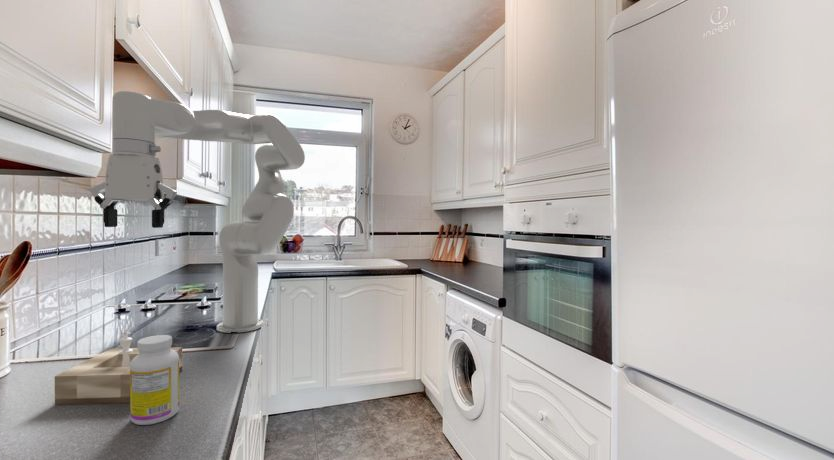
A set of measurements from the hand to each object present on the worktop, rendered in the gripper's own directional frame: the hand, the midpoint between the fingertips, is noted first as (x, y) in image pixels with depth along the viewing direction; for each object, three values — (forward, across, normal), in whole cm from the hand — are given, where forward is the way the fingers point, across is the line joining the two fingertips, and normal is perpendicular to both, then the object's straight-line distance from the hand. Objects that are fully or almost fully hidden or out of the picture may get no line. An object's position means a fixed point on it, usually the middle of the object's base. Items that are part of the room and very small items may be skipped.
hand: (134, 227), depth 84 cm
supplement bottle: (+31, -18, +25) cm, 43 cm away
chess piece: (+30, -6, +13) cm, 33 cm away
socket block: (+30, -6, +13) cm, 34 cm away
